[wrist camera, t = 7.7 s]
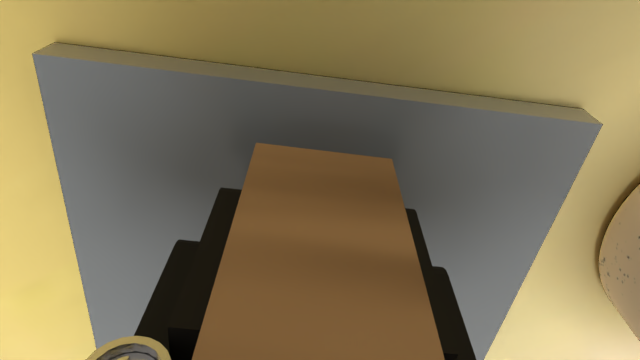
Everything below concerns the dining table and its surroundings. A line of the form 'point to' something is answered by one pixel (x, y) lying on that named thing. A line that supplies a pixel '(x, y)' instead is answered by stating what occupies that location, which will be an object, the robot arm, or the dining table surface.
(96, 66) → the slate board
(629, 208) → the teacup with lid
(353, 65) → the dining table surface
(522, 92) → the dining table surface
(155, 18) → the dining table surface
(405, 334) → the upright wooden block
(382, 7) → the dining table surface
